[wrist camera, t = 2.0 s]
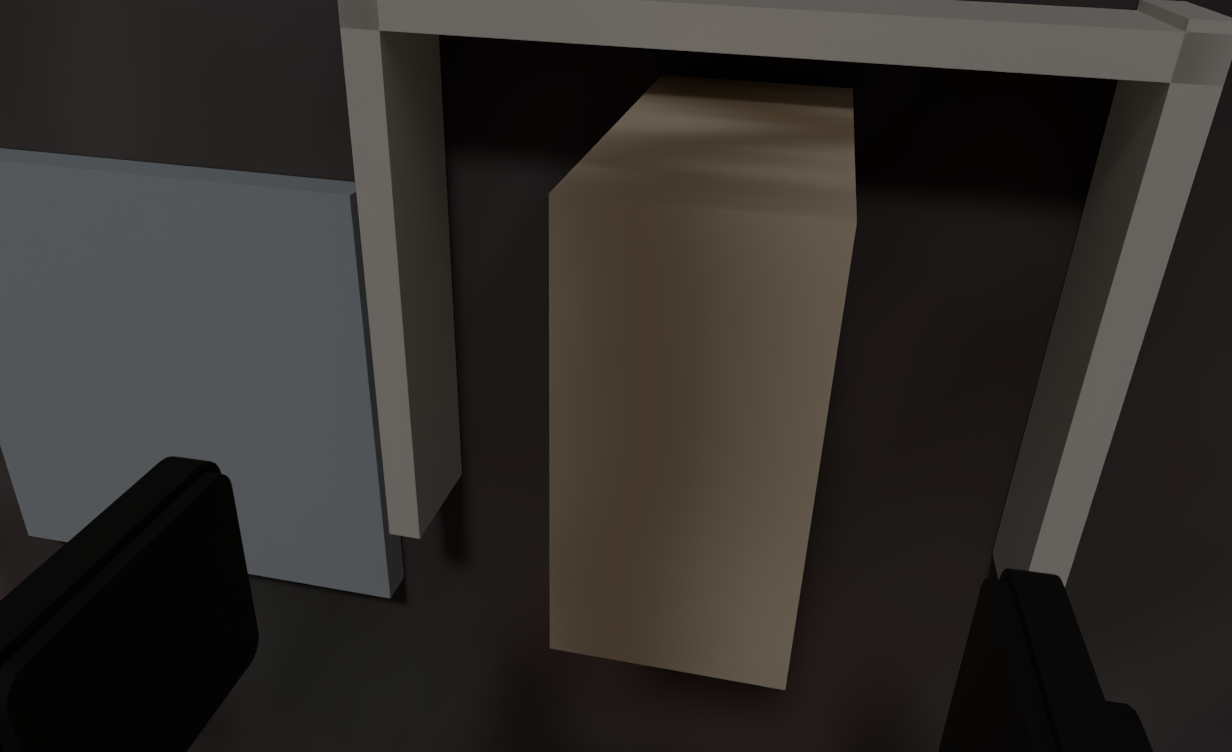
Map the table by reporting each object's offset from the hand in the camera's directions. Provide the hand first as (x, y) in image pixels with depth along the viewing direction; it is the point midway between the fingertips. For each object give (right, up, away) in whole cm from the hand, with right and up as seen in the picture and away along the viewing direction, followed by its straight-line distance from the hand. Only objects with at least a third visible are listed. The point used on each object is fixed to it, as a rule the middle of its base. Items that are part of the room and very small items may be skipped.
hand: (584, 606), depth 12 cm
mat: (-12, +3, +15) cm, 19 cm away
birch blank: (+3, +6, +10) cm, 12 cm away
